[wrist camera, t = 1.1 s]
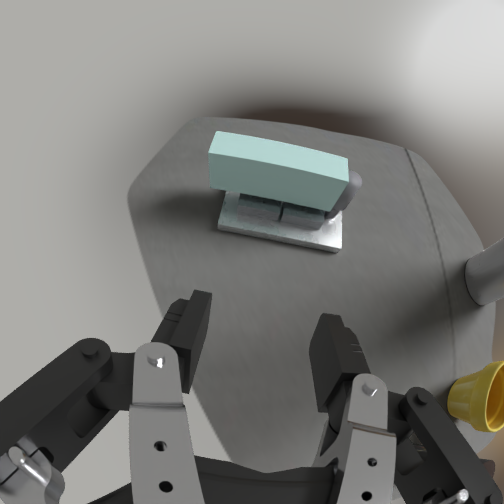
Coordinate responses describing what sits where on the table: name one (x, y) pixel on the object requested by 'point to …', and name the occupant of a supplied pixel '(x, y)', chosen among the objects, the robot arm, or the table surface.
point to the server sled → (281, 221)
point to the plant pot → (480, 398)
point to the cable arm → (281, 172)
